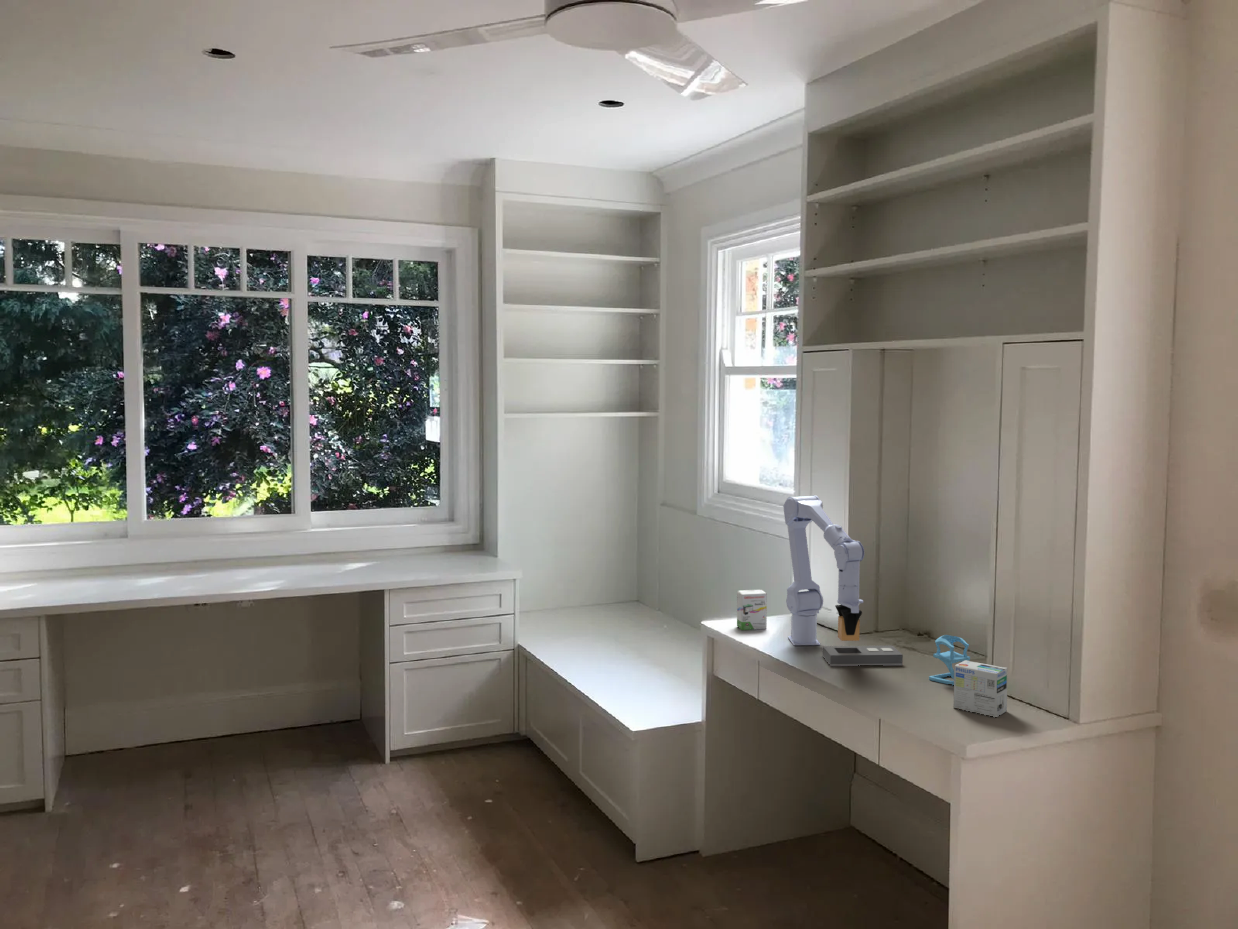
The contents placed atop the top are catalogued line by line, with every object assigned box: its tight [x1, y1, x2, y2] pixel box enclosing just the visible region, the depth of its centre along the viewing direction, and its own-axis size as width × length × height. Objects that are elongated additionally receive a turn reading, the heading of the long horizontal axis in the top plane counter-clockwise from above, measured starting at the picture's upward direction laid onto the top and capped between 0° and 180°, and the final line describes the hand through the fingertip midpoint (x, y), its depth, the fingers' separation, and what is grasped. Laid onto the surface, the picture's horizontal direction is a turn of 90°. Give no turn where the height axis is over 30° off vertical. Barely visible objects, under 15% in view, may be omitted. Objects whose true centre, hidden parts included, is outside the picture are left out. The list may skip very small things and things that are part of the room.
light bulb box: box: [952, 660, 1008, 718], centre depth 236 cm, size 11×7×11 cm, turn 48°
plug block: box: [837, 615, 861, 642], centre depth 277 cm, size 4×5×6 cm
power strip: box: [822, 644, 904, 667], centre depth 277 cm, size 10×20×3 cm, turn 91°
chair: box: [928, 634, 971, 686], centre depth 257 cm, size 8×8×12 cm
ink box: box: [736, 589, 768, 631], centre depth 314 cm, size 8×5×12 cm, turn 101°
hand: (848, 632), depth 277 cm, fingers closed on plug block, 4 cm apart
